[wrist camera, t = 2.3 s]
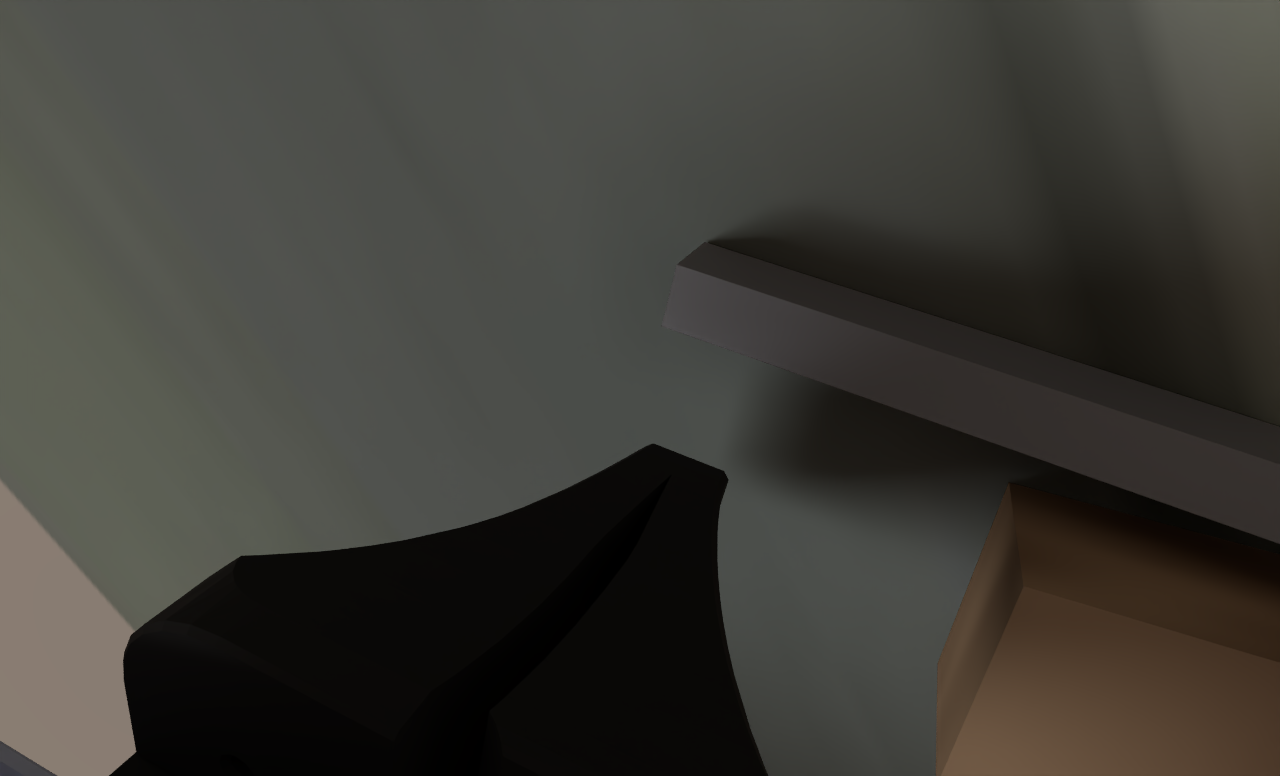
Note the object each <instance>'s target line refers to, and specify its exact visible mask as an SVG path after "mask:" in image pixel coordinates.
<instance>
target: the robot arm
mask: <svg viewBox="0 0 1280 776" xmlns="http://www.w3.org/2000/svg"><path fill="white" fill-rule="evenodd" d="M727 483H728V478H727V476H726V474H725V472H724V471H722V470H720V469H717V468H715V467H712V466H710V465H707V464H704V463H702V462H699V461H697V460H694V459H692V458H689V457H687V456H684V455H681V454H679V453H676V452H674V451H671V450H669V449H666V448H664V447H661V446H658V445H656V444H651V445H648V446H646V447H644V448H642V449H640V450H638V451H637V452H635V453H633V454H631V455H630V456H628V457H626V458H624V459H622V460H621V461H619V462H617V463H615V464H613V465H612V466H610V467H608V468H606V469H604V470H602V471H600V472H599V473H597V474H595V475H593V476H591V477H589V478H587V479H585V480H583V481H581V482H579V483H577V484H575V485H573V486H571V487H569V488H567V489H564V490H562V491H560V492H558V493H555V494H553V495H551V496H548V497H546V498H544V499H541V500H539V501H537V502H534V503H532V504H530V505H527V506H525V507H522V508H520V509H517V510H515V511H512V512H509V513H506V514H504V515H501V516H498V517H495V518H491V519H488V520H485V521H482V522H479V523H475V524H472V525H468V526H465V527H461V528H457V529H452V530H448V531H443V532H439V533H435V534H430V535H426V536H421V537H417V538H412V539H408V540H403V541H397V542H391V543H384V544H378V545H372V546H364V547H357V548H349V549H341V550H331V551H321V552H306V553H289V554H272V555H252V556H240V557H239V558H237V559H236V560H234V561H232V562H231V563H229V564H228V565H226V566H225V567H223V568H222V569H220V570H219V571H217V572H216V573H214V574H213V575H211V576H210V577H208V578H207V579H206V580H204V581H203V582H201V583H200V584H199V585H197V586H196V587H195V588H193V589H192V590H191V591H189V592H188V593H186V594H185V595H184V596H182V597H181V598H180V599H178V600H177V601H175V602H174V603H173V604H171V605H170V606H169V607H167V608H166V609H165V610H163V611H162V612H160V613H159V614H158V615H156V616H155V617H154V618H152V619H151V620H149V621H148V622H147V623H145V624H144V625H143V626H142V627H140V628H139V629H138V630H137V631H135V632H134V633H133V634H132V635H131V636H130V639H129V642H128V644H127V647H126V649H125V652H124V659H123V667H124V683H125V689H126V695H127V701H128V707H129V712H130V718H131V723H132V730H133V735H134V741H135V747H136V753H135V754H134V755H132V756H131V757H130V758H129V759H128V760H127V761H125V762H124V763H123V764H122V765H121V766H120V767H119V768H117V769H116V770H115V771H114V772H113V773H112V774H111V775H109V776H768V774H767V771H766V769H765V767H764V764H763V761H762V759H761V756H760V753H759V751H758V748H757V745H756V743H755V740H754V737H753V735H752V732H751V729H750V726H749V723H748V719H747V716H746V713H745V709H744V706H743V703H742V699H741V696H740V693H739V689H738V686H737V683H736V680H735V676H734V672H733V668H732V663H731V659H730V654H729V650H728V646H727V640H726V635H725V629H724V623H723V617H722V610H721V602H720V592H719V580H718V563H717V532H718V518H719V510H720V504H721V501H722V498H723V495H724V492H725V489H726V486H727ZM0 776H57V775H55V774H53V773H52V772H50V771H48V770H47V769H45V768H44V767H42V766H40V765H39V764H37V763H35V762H33V761H32V760H30V759H29V758H27V757H25V756H24V755H22V754H21V753H19V752H17V751H16V750H14V749H13V748H11V747H9V746H8V745H6V744H4V743H3V742H1V741H0Z"/></svg>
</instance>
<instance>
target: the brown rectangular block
mask: <svg viewBox="0 0 1280 776" xmlns="http://www.w3.org/2000/svg"><path fill="white" fill-rule="evenodd" d="M936 776H1280V554H1277V553H1273V552H1269V551H1265V550H1262V549H1258V548H1254V547H1250V546H1247V545H1243V544H1239V543H1235V542H1232V541H1228V540H1224V539H1220V538H1217V537H1213V536H1209V535H1205V534H1201V533H1198V532H1194V531H1190V530H1186V529H1183V528H1179V527H1175V526H1171V525H1168V524H1164V523H1160V522H1156V521H1153V520H1149V519H1145V518H1141V517H1137V516H1134V515H1130V514H1126V513H1122V512H1119V511H1115V510H1111V509H1107V508H1104V507H1100V506H1096V505H1092V504H1089V503H1085V502H1081V501H1077V500H1074V499H1070V498H1066V497H1062V496H1058V495H1055V494H1051V493H1047V492H1043V491H1040V490H1036V489H1032V488H1028V487H1025V486H1021V485H1017V484H1013V483H1010V482H1009V483H1008V486H1007V488H1006V491H1005V494H1004V496H1003V499H1002V501H1001V504H1000V506H999V509H998V511H997V514H996V516H995V519H994V522H993V524H992V527H991V529H990V532H989V534H988V537H987V539H986V542H985V544H984V547H983V549H982V552H981V555H980V557H979V560H978V562H977V565H976V567H975V570H974V572H973V575H972V577H971V580H970V583H969V585H968V588H967V590H966V593H965V595H964V598H963V600H962V603H961V605H960V608H959V610H958V613H957V616H956V618H955V621H954V623H953V626H952V628H951V631H950V633H949V636H948V638H947V641H946V644H945V646H944V649H943V651H942V654H941V656H940V659H939V661H938V673H937V736H936Z"/></svg>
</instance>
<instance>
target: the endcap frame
mask: <svg viewBox="0 0 1280 776" xmlns="http://www.w3.org/2000/svg"><path fill="white" fill-rule="evenodd" d="M662 326H663V327H666V328H668V329H671V330H674V331H677V332H680V333H683V334H685V335H688V336H691V337H694V338H697V339H700V340H702V341H705V342H708V343H711V344H714V345H717V346H719V347H722V348H725V349H728V350H731V351H734V352H736V353H739V354H742V355H745V356H748V357H751V358H753V359H756V360H759V361H762V362H765V363H768V364H771V365H773V366H776V367H779V368H782V369H785V370H788V371H790V372H793V373H796V374H799V375H802V376H805V377H807V378H810V379H813V380H816V381H819V382H822V383H824V384H827V385H830V386H833V387H836V388H839V389H841V390H844V391H847V392H850V393H853V394H856V395H858V396H861V397H864V398H867V399H870V400H873V401H876V402H878V403H881V404H884V405H887V406H890V407H893V408H895V409H898V410H901V411H904V412H907V413H910V414H912V415H915V416H918V417H921V418H924V419H927V420H929V421H932V422H935V423H938V424H941V425H944V426H946V427H949V428H952V429H955V430H958V431H961V432H963V433H966V434H969V435H972V436H975V437H978V438H981V439H983V440H986V441H989V442H992V443H995V444H998V445H1000V446H1003V447H1006V448H1009V449H1012V450H1015V451H1017V452H1020V453H1023V454H1026V455H1029V456H1032V457H1034V458H1037V459H1040V460H1043V461H1046V462H1049V463H1051V464H1054V465H1057V466H1060V467H1063V468H1066V469H1068V470H1071V471H1074V472H1077V473H1080V474H1083V475H1086V476H1088V477H1091V478H1094V479H1097V480H1100V481H1103V482H1105V483H1108V484H1111V485H1114V486H1117V487H1120V488H1122V489H1125V490H1128V491H1131V492H1134V493H1137V494H1139V495H1142V496H1145V497H1148V498H1151V499H1154V500H1156V501H1159V502H1162V503H1165V504H1168V505H1171V506H1174V507H1176V508H1179V509H1182V510H1185V511H1188V512H1191V513H1193V514H1196V515H1199V516H1202V517H1205V518H1208V519H1210V520H1213V521H1216V522H1219V523H1222V524H1225V525H1227V526H1230V527H1233V528H1236V529H1239V530H1242V531H1244V532H1247V533H1250V534H1253V535H1256V536H1259V537H1261V538H1264V539H1267V540H1270V541H1273V542H1276V543H1279V544H1280V427H1279V426H1275V425H1272V424H1269V423H1266V422H1263V421H1260V420H1257V419H1254V418H1251V417H1247V416H1244V415H1241V414H1238V413H1235V412H1232V411H1229V410H1226V409H1223V408H1219V407H1216V406H1213V405H1210V404H1207V403H1204V402H1201V401H1198V400H1195V399H1191V398H1188V397H1185V396H1182V395H1179V394H1176V393H1173V392H1170V391H1167V390H1163V389H1160V388H1157V387H1154V386H1151V385H1148V384H1145V383H1142V382H1139V381H1135V380H1132V379H1129V378H1126V377H1123V376H1120V375H1117V374H1114V373H1111V372H1108V371H1104V370H1101V369H1098V368H1095V367H1092V366H1089V365H1086V364H1083V363H1080V362H1076V361H1073V360H1070V359H1067V358H1064V357H1061V356H1058V355H1055V354H1052V353H1048V352H1045V351H1042V350H1039V349H1036V348H1033V347H1030V346H1027V345H1024V344H1020V343H1017V342H1014V341H1011V340H1008V339H1005V338H1002V337H999V336H996V335H992V334H989V333H986V332H983V331H980V330H977V329H974V328H971V327H968V326H964V325H961V324H958V323H955V322H952V321H949V320H946V319H943V318H940V317H936V316H933V315H930V314H927V313H924V312H921V311H918V310H915V309H912V308H908V307H905V306H902V305H899V304H896V303H893V302H890V301H887V300H884V299H880V298H877V297H874V296H871V295H868V294H865V293H862V292H859V291H856V290H852V289H849V288H846V287H843V286H840V285H837V284H834V283H831V282H828V281H824V280H821V279H818V278H815V277H812V276H809V275H806V274H803V273H800V272H796V271H793V270H790V269H787V268H784V267H781V266H778V265H775V264H772V263H768V262H765V261H762V260H759V259H756V258H753V257H750V256H747V255H744V254H740V253H737V252H734V251H731V250H728V249H725V248H722V247H719V246H716V245H712V244H709V243H706V242H705V243H703V244H702V245H701V246H699V247H698V248H697V249H696V250H694V251H693V252H692V253H691V254H689V255H688V256H687V257H686V258H684V259H683V260H682V261H681V262H679V263H678V264H677V266H676V270H675V274H674V278H673V282H672V286H671V290H670V294H669V298H668V302H667V306H666V310H665V314H664V318H663V322H662Z"/></svg>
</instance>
